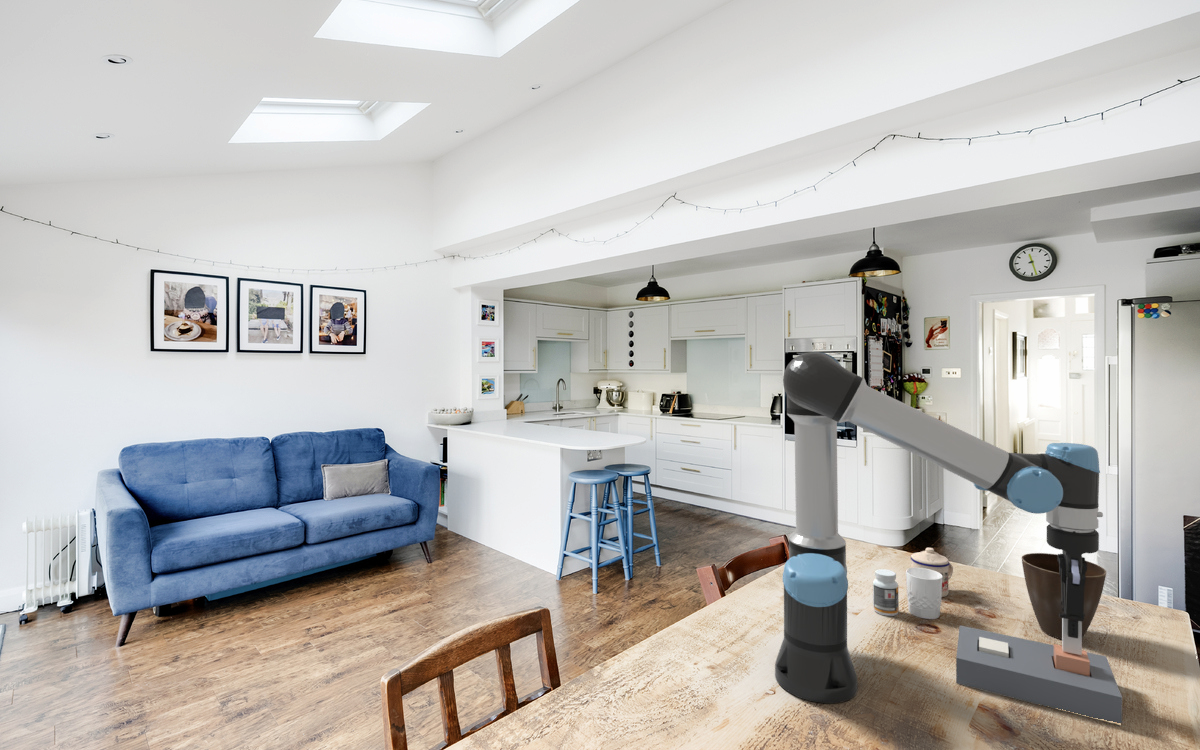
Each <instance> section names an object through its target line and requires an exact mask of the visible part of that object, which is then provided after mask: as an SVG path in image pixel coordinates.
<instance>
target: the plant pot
mask: <svg viewBox="0 0 1200 750" xmlns="http://www.w3.org/2000/svg"><path fill="white" fill-rule="evenodd" d="M1085 562H1087V571H1086V572H1085V577H1086V580H1085V587H1084V611H1083V612H1084V614H1085V617H1084V620H1083V622H1082V639H1084V636H1085V635H1086V633H1087V631H1088V629H1089V628H1090V626H1091V624H1092V622H1093V619H1094V617H1095V614H1096V612H1097V610H1098V607H1099V603H1100V600H1101V597H1102V594H1103V590H1104V586H1105V580H1106V577H1107V570H1106V569H1105V568H1103V567H1102V566H1101V565H1098V564H1096V563H1094V562H1091V561H1089V560H1085ZM1021 563H1022V570H1023V575H1024V581H1025V586H1026V589H1027V594H1028V597H1029V600H1030V604H1031V606H1032V610H1033V612H1034V613H1033V614H1034V615H1035V617H1036V621H1037V623H1038V626H1039V627H1040V630H1041V631H1042V632H1043V633H1044V634H1046V635H1048V636H1051V637H1053V638H1055V637H1056V639H1059V640H1062V618H1060V617H1059V613H1063V611H1062V608H1063V606H1062V605H1061V577H1060V574H1059V563H1058V553H1057V554H1056V553H1047V552H1046V553H1045V552H1044V553H1043V552H1031V553H1026V554H1023V555H1021Z"/></svg>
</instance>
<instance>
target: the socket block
mask: <svg viewBox="0 0 1200 750" xmlns="http://www.w3.org/2000/svg"><path fill="white" fill-rule="evenodd" d="M958 628H959V629H958V637H957V648H956V649H957V650H956V657H955V661H956V662H955V665H956V666H955V669H956V670H955V674H956V675H955V684H958V685H962V686H965V687H969V688H973V689H977V690H980V691H985V692H989V693H993V694H996V695H1001V696H1005V697H1008V698H1011V699H1015V700H1020V701H1024V702H1027V703H1030V702H1031V704H1034V705H1038V704H1040V705H1039V706H1042V705H1044V706H1043V707H1046V706H1049V707H1048V708H1050V707H1052V708H1051V709H1053V708H1058V709H1061V710H1062V709H1063V710H1066V711H1070V712H1074V713H1078V714H1081V715H1086V716H1089V717H1093V718H1098V719H1104V720H1107V721H1113V722H1117V723H1122V724H1123V697H1122V696H1123V695H1122V694H1121V691H1120V689H1119V686H1118V683H1117V681H1116V678H1115V675H1114V673H1113V670H1112V668H1111V665H1110V662H1109V660H1108V658H1107V656H1106V655H1102V654H1097V653H1092V652H1088V651H1086V652H1087V655H1088V658H1089V661H1090V677H1089V676H1085V675H1081V674H1076V673H1072V672H1068V671H1063V670H1059V669H1055V668H1054V644H1050V643H1046V642H1045V643H1044V642H1040V641H1035V640H1030V639H1026V638H1023V637H1022V638H1021V637H1017V636H1012V635H1008V634H1004V633H999V632H993V631H987V630H984V629H980V628H975V627H974V628H973V627H971V626H965V625H960V624H959V627H958ZM979 637H983V638H987V639H992V640H996V641H1001V642H1006V643H1008V651H1009V658H1007V657H1002V656H998V655H994V654H989V653H985V652H981V651H979ZM1061 710H1060V711H1061Z"/></svg>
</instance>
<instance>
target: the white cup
mask: <svg viewBox="0 0 1200 750" xmlns="http://www.w3.org/2000/svg"><path fill="white" fill-rule="evenodd" d="M905 577H906V578H905V581H906V583H905V585H906V597H907V598H906V599H907V608H908V609H907V610H908V613H910V614H911V615H912V616H915V617H917V618H921V619H924V620H925V619H926V620H936V619H939V618H940V616H941V606H942V605H941V604H942V598H943V597H942V579H943V576H942V575H941V574H940V573H939V572H936V571H934V570H930V569H925V568H912V567H910V568H907V569H906V570H905Z"/></svg>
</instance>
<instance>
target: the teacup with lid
mask: <svg viewBox="0 0 1200 750" xmlns="http://www.w3.org/2000/svg"><path fill="white" fill-rule="evenodd" d="M910 560H911V568H925V569H930V570H934V571H936V572H939V573H940V574H941V575H942V576H943V579H942V597H941V598H944V597H947V596H948V595H949V580H950V579H951V577H952V576H953V573H954V567H953V565H952V563H950V561H949V559H948V558H947V557H946V556H944V555H941V554H939V553H938V552H936V551H935V549H934V548H933V547H926V548H925V550H922V551H920V552H913V553H912V554H911V555H910Z"/></svg>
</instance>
